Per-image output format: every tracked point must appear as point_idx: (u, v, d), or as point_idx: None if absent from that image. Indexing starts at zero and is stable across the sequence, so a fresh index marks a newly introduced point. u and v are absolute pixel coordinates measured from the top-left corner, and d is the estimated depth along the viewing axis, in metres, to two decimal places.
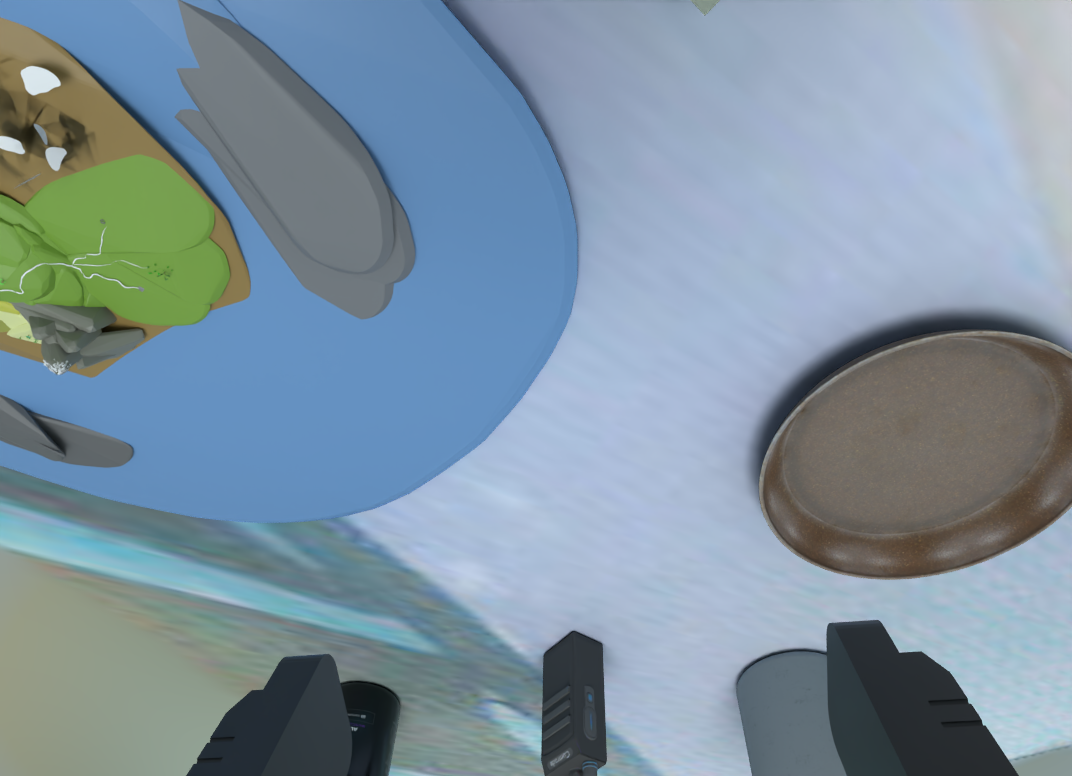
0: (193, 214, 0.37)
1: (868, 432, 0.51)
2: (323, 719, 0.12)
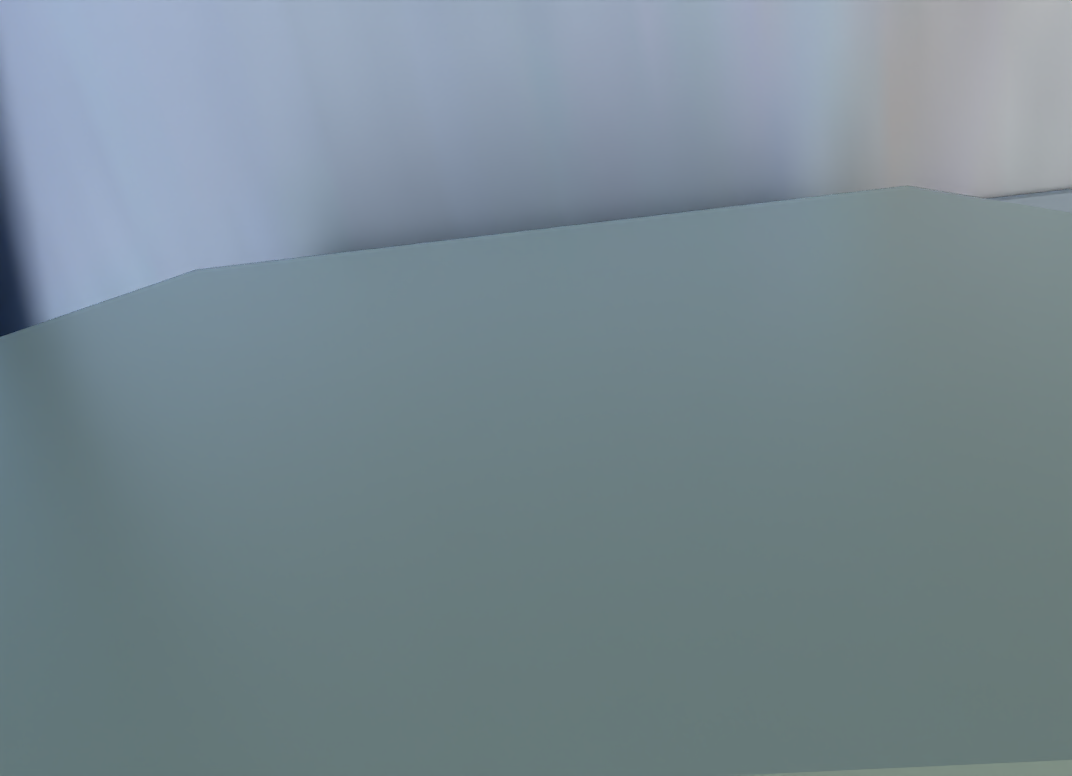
0: None
1: None
2: None
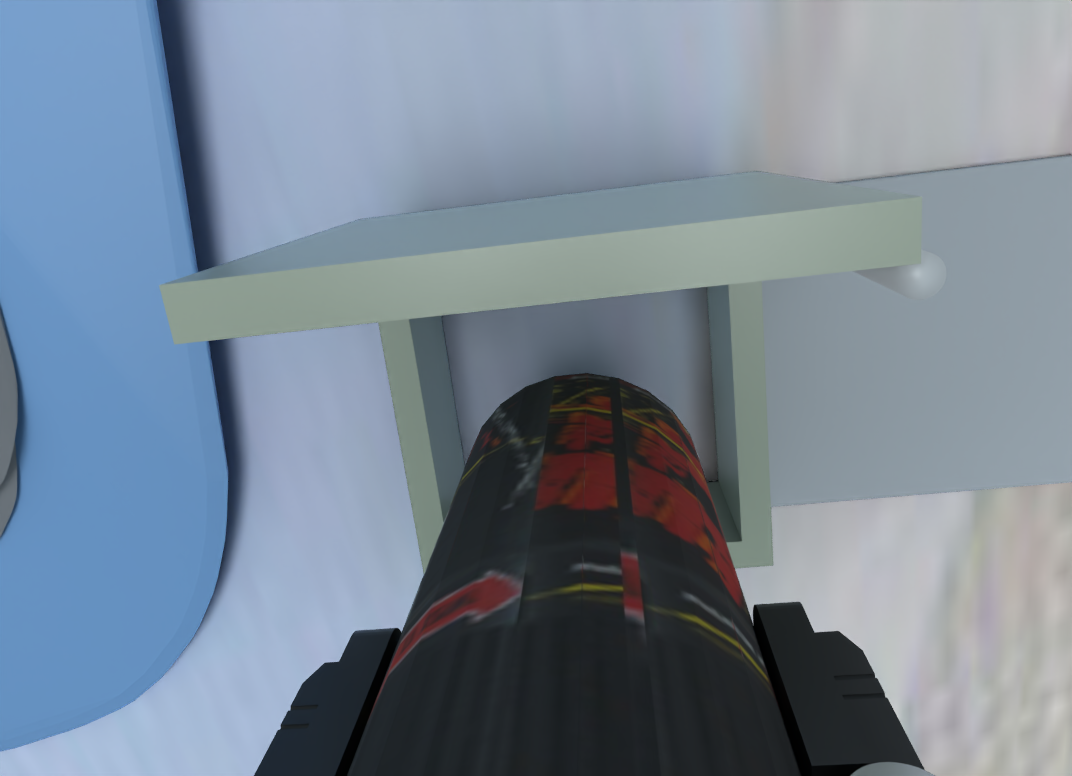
0: None
1: None
2: None
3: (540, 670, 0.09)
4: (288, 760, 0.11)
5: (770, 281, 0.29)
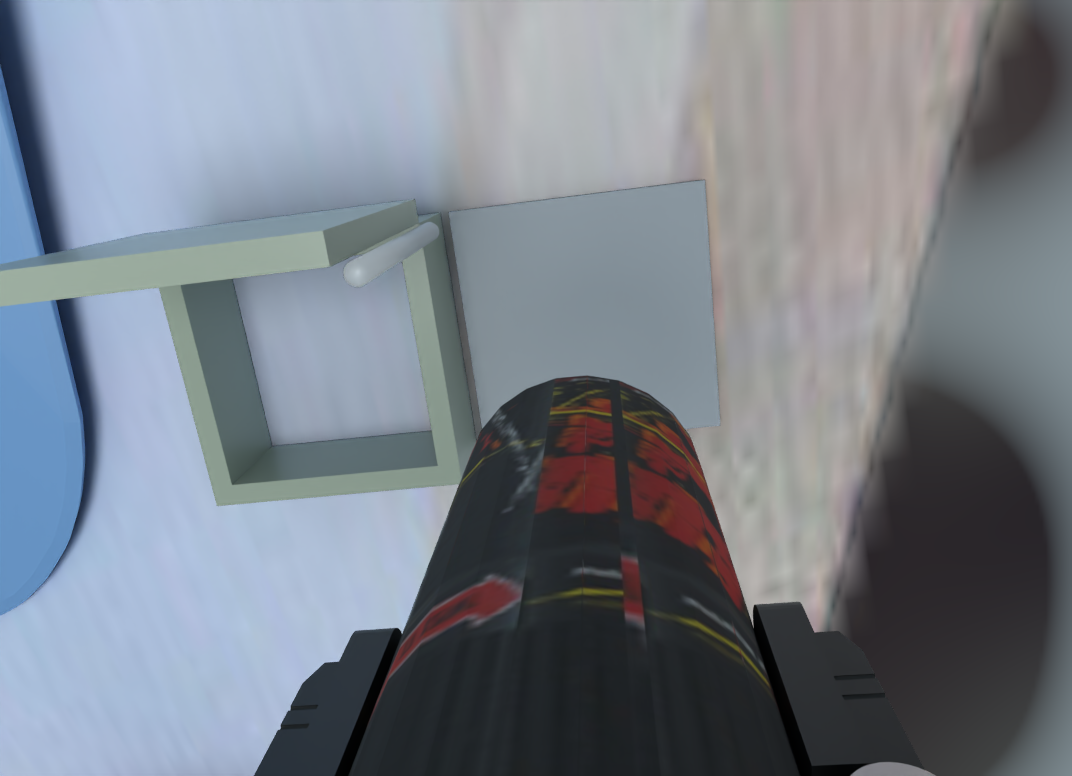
0: None
1: None
2: None
3: (539, 676, 0.09)
4: (288, 760, 0.11)
5: (472, 276, 0.39)
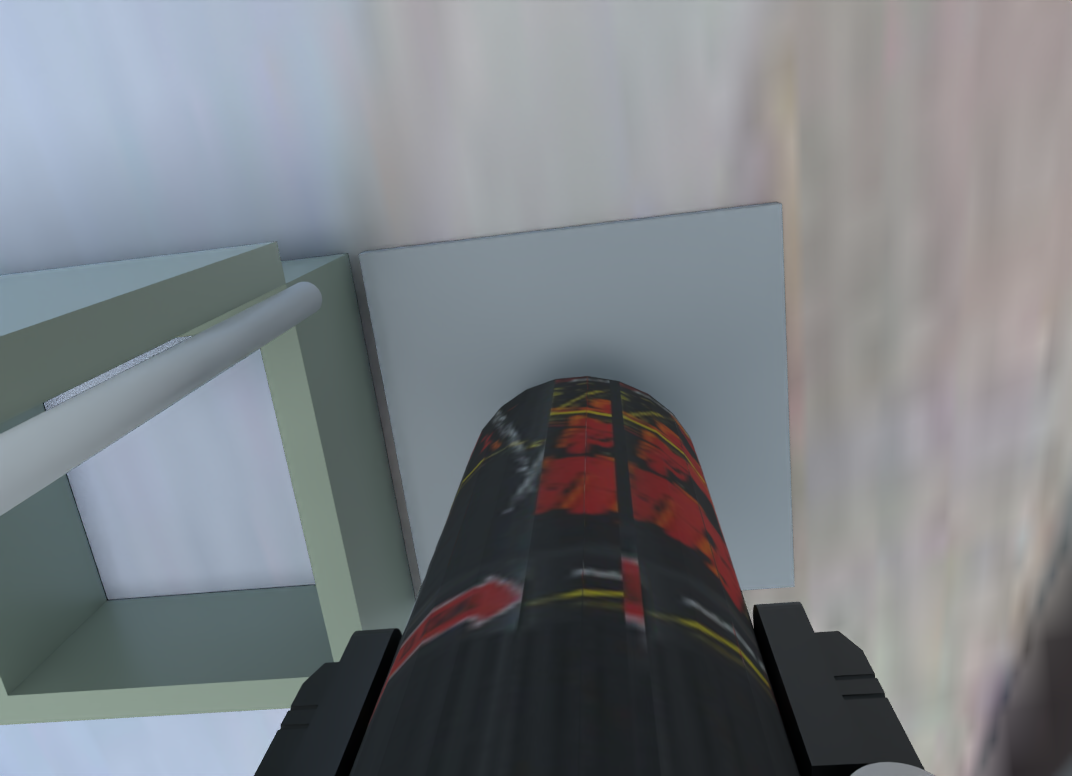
0: None
1: None
2: None
3: (539, 679, 0.09)
4: (288, 760, 0.11)
5: (400, 355, 0.24)
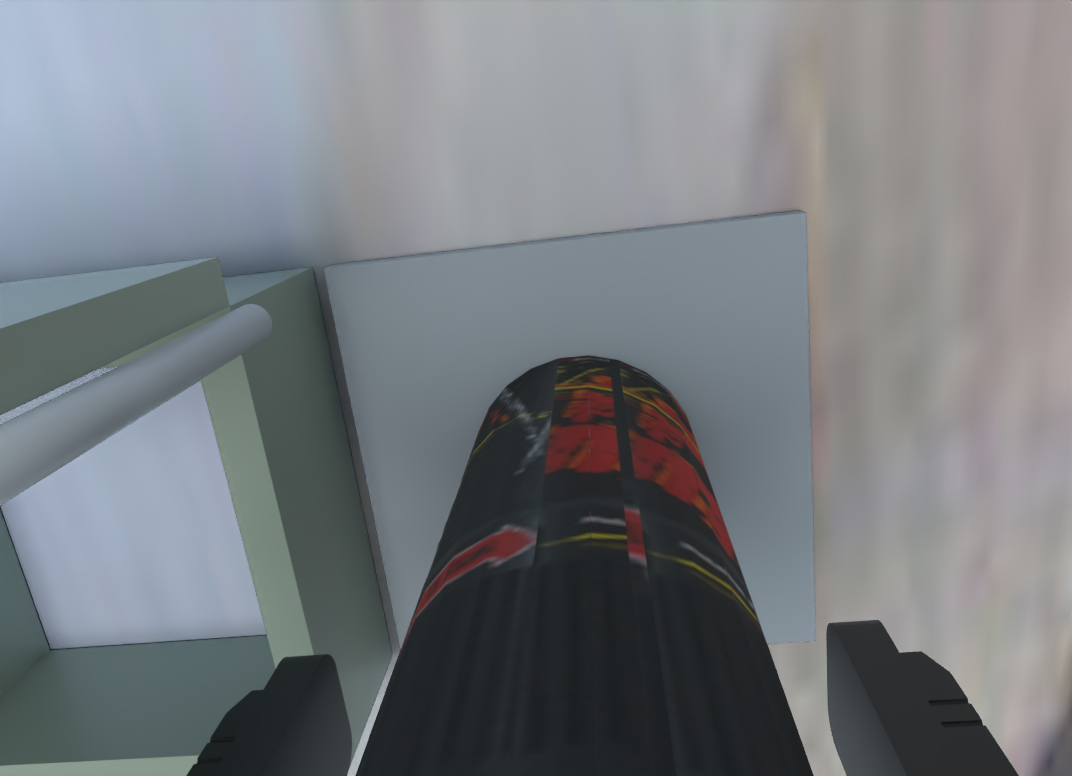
0: None
1: None
2: (324, 719, 0.12)
3: (556, 603, 0.10)
4: None
5: (372, 382, 0.21)
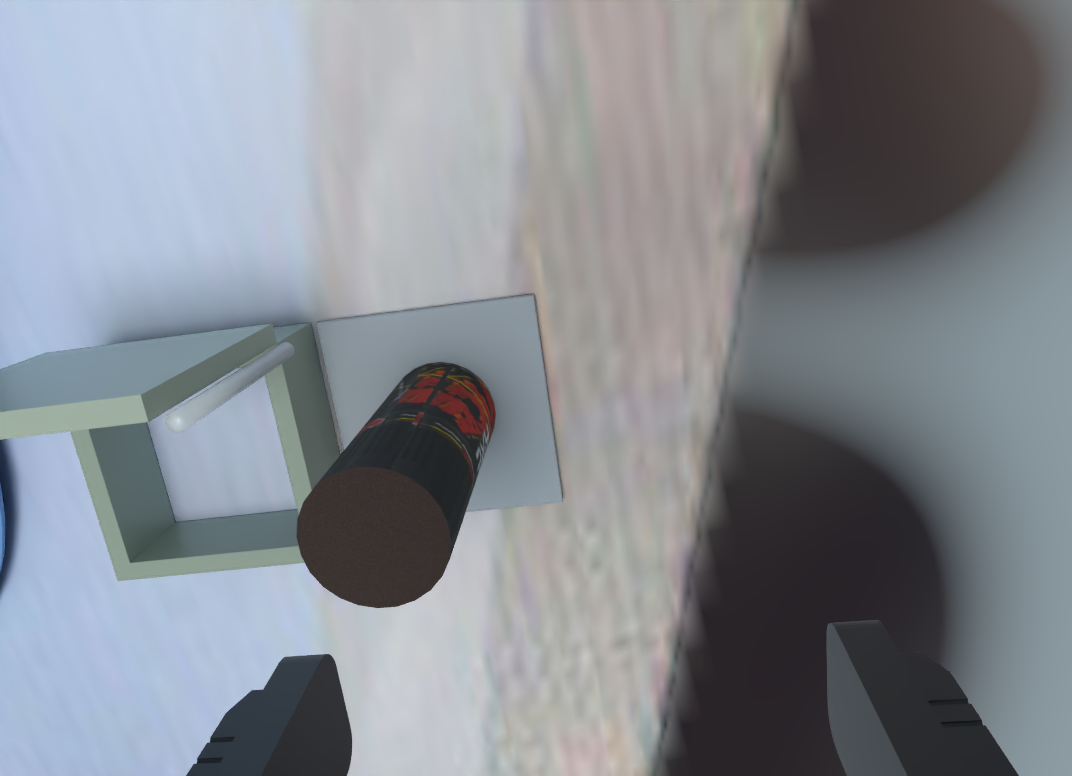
0: None
1: None
2: (324, 719, 0.12)
3: (382, 432, 0.33)
4: None
5: (340, 376, 0.44)
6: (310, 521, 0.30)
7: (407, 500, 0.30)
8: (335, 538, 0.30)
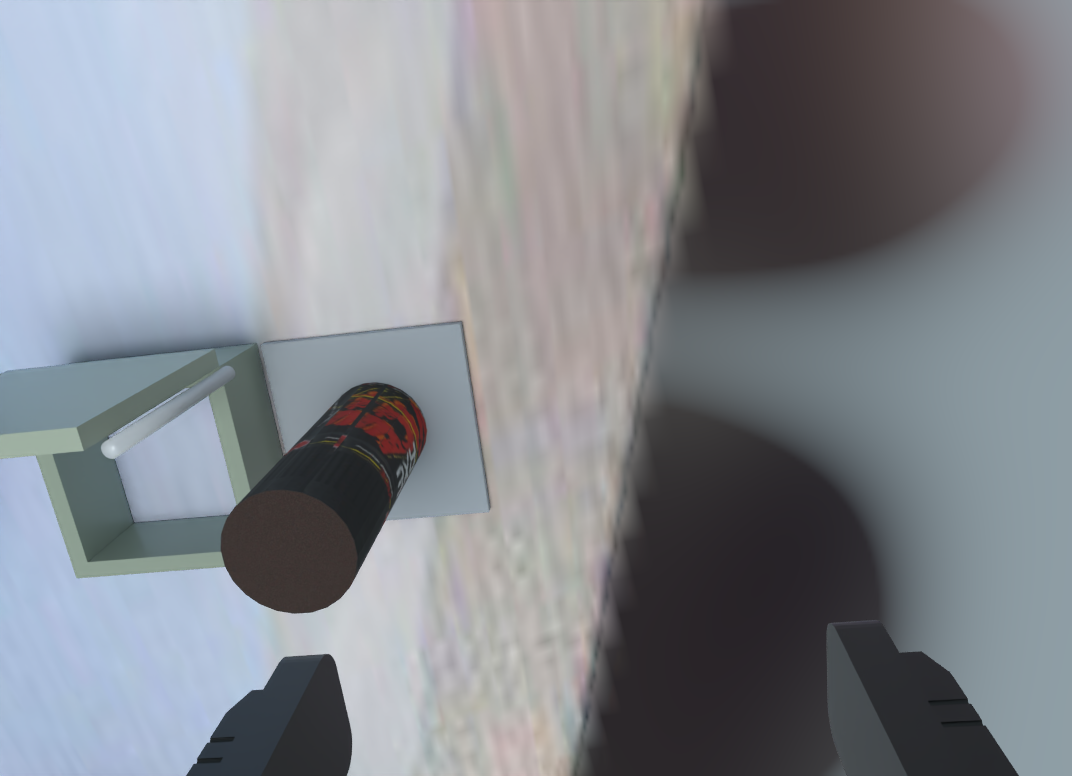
0: None
1: None
2: (324, 719, 0.12)
3: (304, 455, 0.37)
4: None
5: (283, 394, 0.48)
6: (232, 536, 0.34)
7: (318, 520, 0.33)
8: (255, 552, 0.34)
